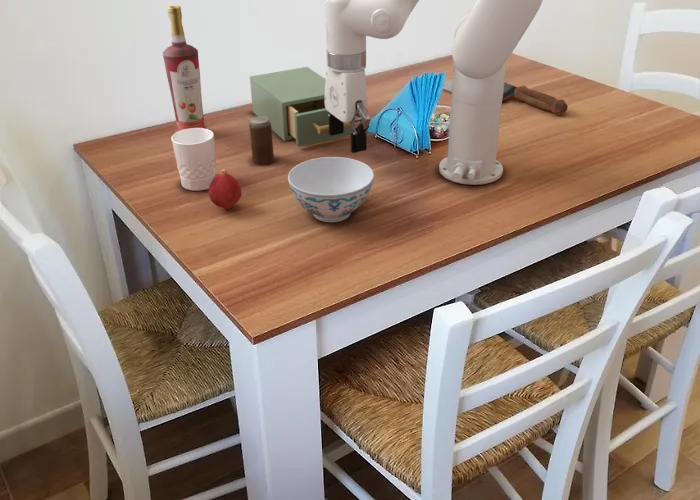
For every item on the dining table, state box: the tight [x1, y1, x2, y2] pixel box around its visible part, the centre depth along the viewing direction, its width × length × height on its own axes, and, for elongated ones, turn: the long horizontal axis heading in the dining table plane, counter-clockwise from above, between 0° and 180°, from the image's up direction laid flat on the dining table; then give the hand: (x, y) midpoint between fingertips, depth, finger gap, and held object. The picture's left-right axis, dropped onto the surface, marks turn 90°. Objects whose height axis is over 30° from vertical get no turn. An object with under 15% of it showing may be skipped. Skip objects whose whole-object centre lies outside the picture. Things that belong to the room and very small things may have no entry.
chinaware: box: [287, 156, 375, 223], centre depth 126 cm, size 15×15×8 cm
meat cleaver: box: [442, 77, 568, 116], centre depth 175 cm, size 34×11×4 cm, turn 36°
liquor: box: [162, 5, 208, 133], centre depth 152 cm, size 7×7×28 cm
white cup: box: [170, 128, 217, 192], centre depth 137 cm, size 8×8×10 cm
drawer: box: [286, 99, 355, 147], centre depth 157 cm, size 23×14×7 cm, turn 27°
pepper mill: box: [248, 115, 275, 166], centre depth 146 cm, size 4×4×9 cm
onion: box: [208, 169, 242, 211], centre depth 128 cm, size 6×6×8 cm
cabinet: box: [249, 66, 325, 142], centre depth 164 cm, size 20×15×9 cm
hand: (347, 142), depth 144 cm, fingers open, 9 cm apart
